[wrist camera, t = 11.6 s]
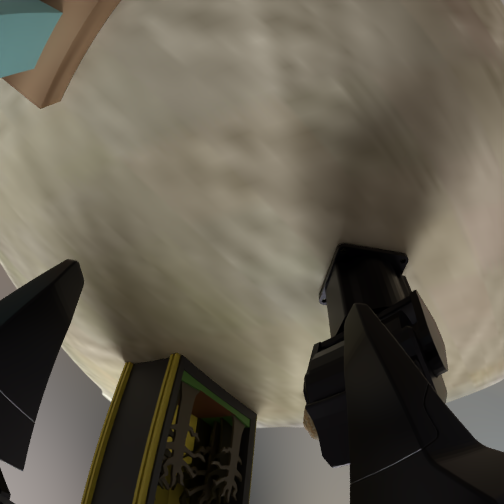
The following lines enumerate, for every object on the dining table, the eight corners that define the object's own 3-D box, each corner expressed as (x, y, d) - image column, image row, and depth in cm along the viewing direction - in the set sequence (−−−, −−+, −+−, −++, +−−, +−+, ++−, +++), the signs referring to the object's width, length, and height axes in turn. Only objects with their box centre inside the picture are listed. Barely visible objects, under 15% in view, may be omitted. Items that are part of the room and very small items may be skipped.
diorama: (258, 415, 44) (242, 580, 20) (206, 420, 48) (183, 566, 24) (179, 352, 34) (127, 587, 10) (124, 362, 38) (69, 551, 14)
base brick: (121, 0, 13) (102, -5, 11) (60, 101, 17) (40, 108, 15) (51, -34, 9) (31, -37, 7) (3, 57, 14) (-17, 62, 12)
